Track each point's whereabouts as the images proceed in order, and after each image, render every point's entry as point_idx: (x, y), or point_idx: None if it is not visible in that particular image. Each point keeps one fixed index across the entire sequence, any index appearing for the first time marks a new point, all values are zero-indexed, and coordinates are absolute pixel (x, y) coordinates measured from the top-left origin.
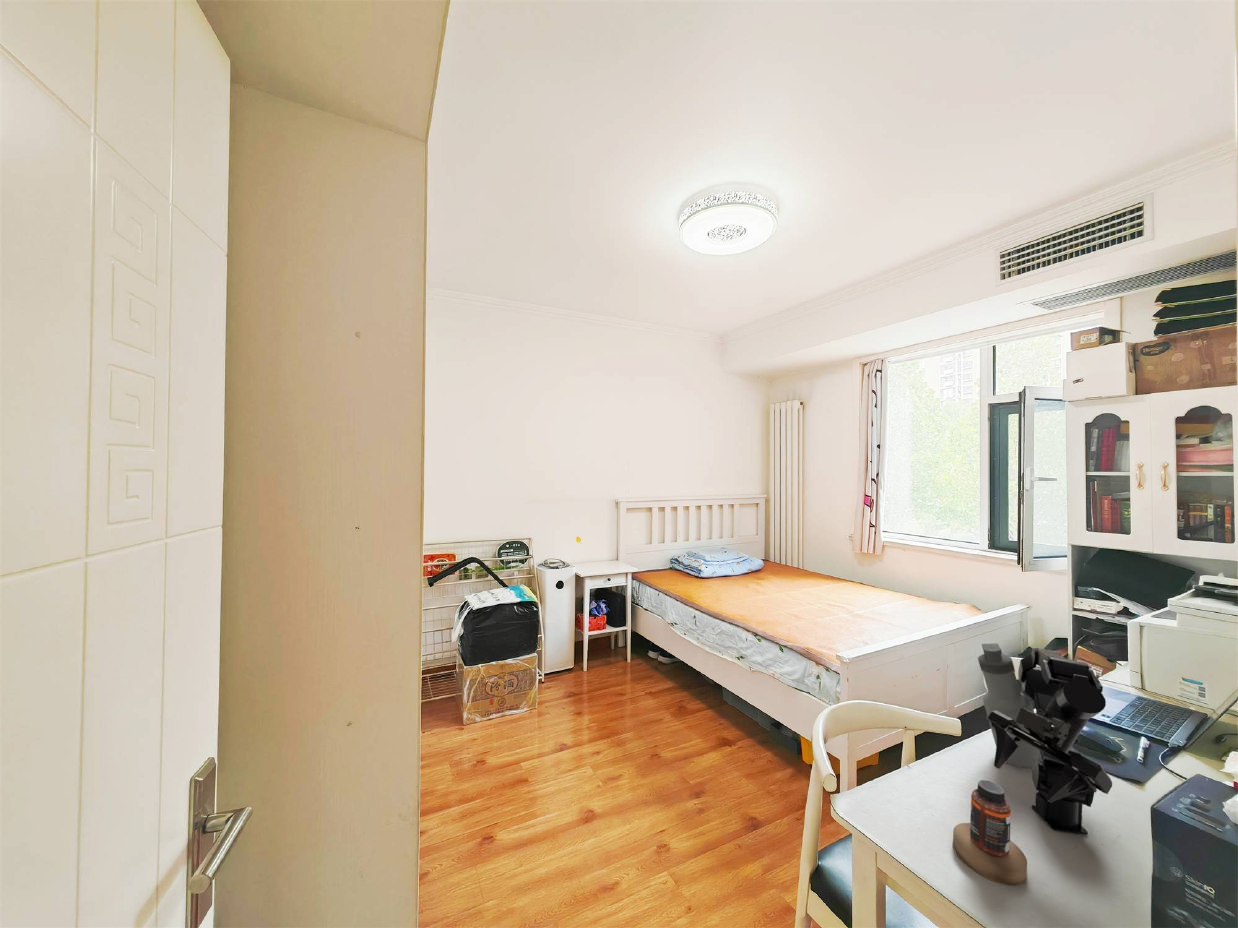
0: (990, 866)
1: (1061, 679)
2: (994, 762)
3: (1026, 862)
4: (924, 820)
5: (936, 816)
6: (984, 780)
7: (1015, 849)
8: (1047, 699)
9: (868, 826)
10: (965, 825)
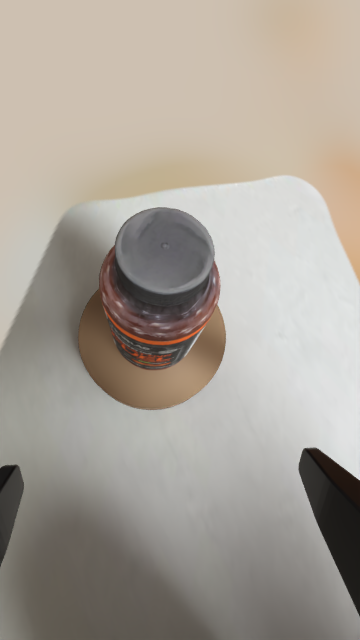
0: None
1: None
2: (325, 455)
3: (89, 372)
4: (266, 302)
5: (274, 339)
6: (207, 262)
7: (126, 387)
8: None
9: (264, 192)
10: (217, 336)
